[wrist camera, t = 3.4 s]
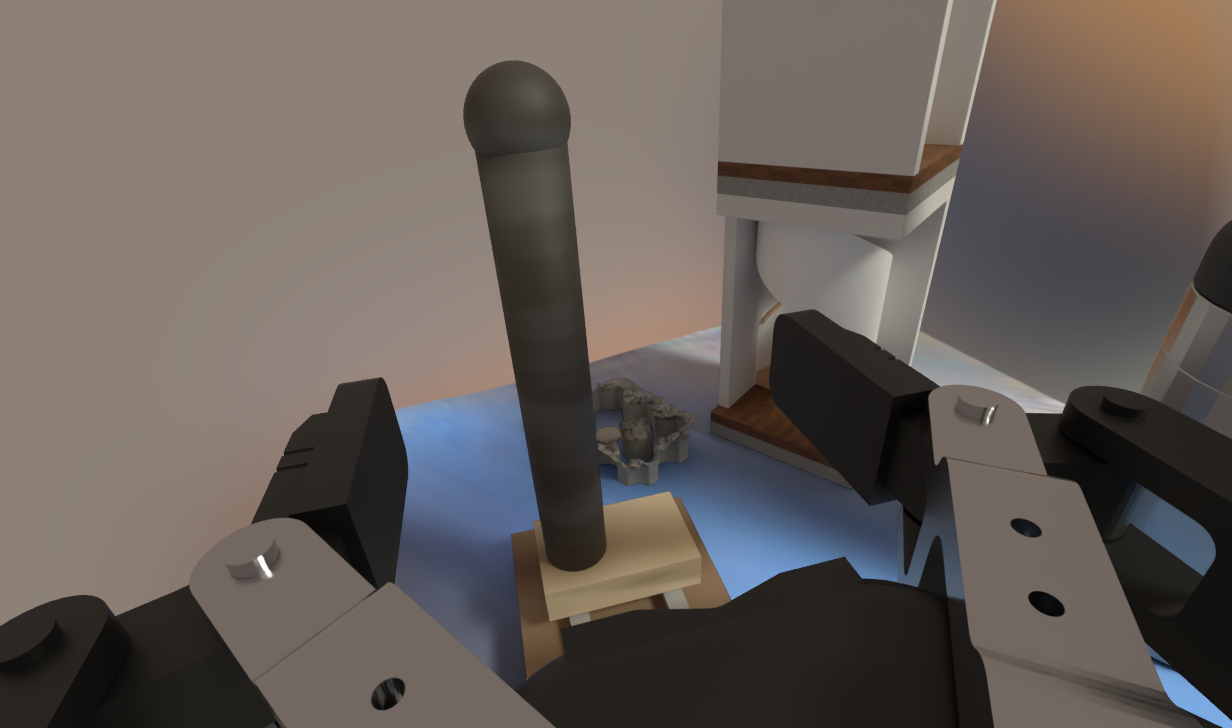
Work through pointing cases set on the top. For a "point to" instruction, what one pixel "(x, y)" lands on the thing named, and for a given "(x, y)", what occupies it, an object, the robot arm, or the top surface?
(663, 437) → the egg carton
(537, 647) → the press base
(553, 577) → the knob-topped lever
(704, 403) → the top surface
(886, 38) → the display case
